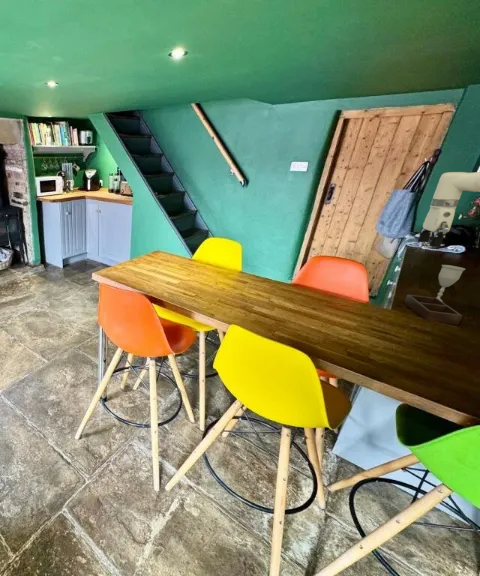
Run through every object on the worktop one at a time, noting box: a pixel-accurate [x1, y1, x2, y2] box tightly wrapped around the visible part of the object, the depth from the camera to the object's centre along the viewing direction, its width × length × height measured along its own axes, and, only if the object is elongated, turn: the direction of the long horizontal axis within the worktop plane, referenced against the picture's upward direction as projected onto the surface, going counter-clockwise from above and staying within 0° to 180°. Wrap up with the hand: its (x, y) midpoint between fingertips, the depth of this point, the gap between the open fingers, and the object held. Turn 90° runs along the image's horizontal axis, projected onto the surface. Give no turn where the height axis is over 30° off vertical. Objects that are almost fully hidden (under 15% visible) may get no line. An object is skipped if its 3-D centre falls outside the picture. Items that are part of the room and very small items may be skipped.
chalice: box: [435, 264, 466, 303], centre depth 138 cm, size 7×7×18 cm
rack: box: [403, 293, 463, 325], centre depth 130 cm, size 10×19×5 cm, turn 155°
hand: (428, 244), depth 131 cm, fingers open, 9 cm apart
